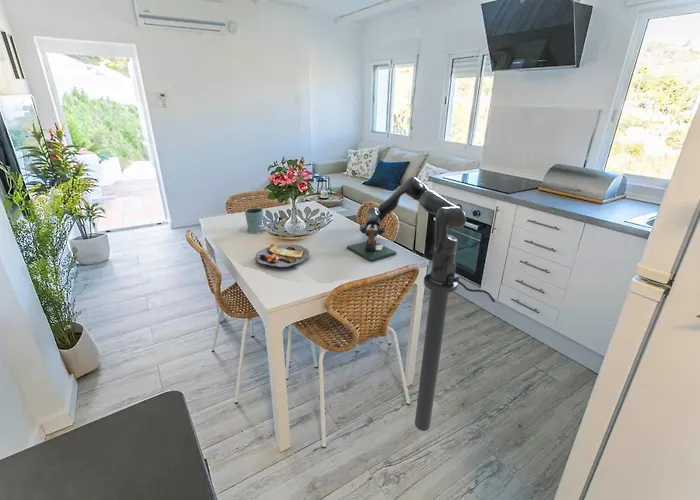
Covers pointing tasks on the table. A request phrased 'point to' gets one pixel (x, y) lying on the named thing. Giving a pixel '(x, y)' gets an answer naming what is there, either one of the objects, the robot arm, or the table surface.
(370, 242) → the brown block with base
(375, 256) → the slate
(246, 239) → the table surface
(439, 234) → the robot arm
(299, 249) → the food plate
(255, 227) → the grey-green cup
